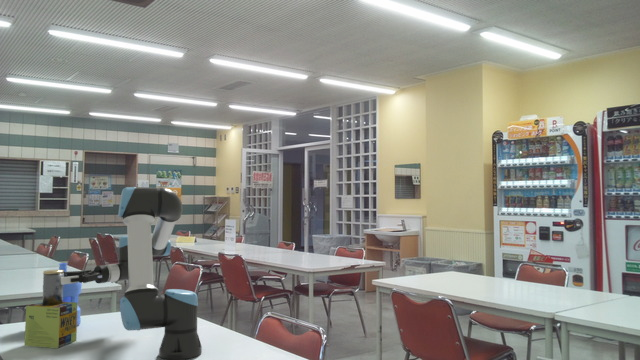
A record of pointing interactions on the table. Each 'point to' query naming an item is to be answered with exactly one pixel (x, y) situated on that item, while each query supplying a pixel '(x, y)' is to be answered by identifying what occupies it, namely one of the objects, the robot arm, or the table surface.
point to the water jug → (71, 292)
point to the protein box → (51, 325)
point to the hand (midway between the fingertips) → (53, 279)
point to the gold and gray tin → (52, 287)
